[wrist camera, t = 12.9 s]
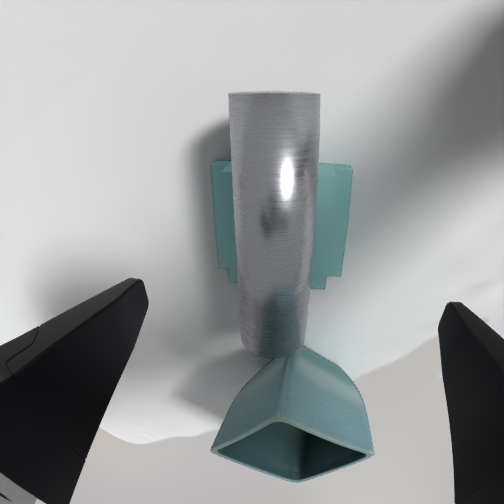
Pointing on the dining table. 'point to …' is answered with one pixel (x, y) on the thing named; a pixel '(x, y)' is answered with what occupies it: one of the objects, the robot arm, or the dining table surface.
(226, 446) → the flower pot
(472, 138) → the dining table surface
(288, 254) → the axle
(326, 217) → the cradle
